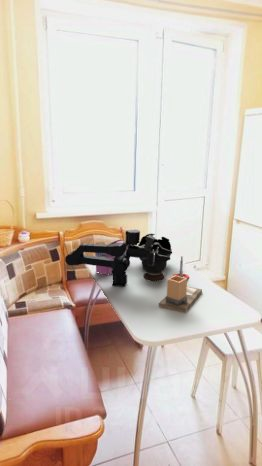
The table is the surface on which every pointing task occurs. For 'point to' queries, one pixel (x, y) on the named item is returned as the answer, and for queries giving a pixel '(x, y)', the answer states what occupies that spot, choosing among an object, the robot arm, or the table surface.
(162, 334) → the table surface
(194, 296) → the board
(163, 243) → the bowl of black rocks
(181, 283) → the tan cardboard box
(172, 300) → the vise
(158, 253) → the robot arm
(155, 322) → the table surface
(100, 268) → the gum box
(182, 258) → the tow hook
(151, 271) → the black ball on stand
